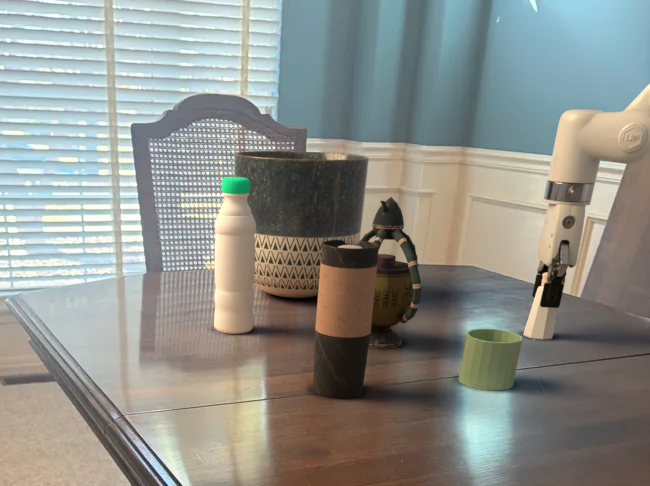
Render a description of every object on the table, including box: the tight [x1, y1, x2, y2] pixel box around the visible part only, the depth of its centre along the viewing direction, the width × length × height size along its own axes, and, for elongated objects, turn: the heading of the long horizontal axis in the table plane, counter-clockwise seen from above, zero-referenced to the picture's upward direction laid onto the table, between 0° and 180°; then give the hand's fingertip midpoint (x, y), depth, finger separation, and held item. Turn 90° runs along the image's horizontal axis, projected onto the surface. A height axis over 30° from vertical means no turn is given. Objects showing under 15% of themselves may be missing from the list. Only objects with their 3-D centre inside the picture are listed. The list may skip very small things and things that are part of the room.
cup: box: [458, 328, 524, 391], centre depth 115 cm, size 8×8×7 cm
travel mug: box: [312, 240, 380, 399], centre depth 106 cm, size 8×8×20 cm
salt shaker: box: [523, 272, 557, 341], centre depth 138 cm, size 5×5×11 cm
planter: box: [233, 150, 369, 299], centre depth 159 cm, size 27×27×27 cm
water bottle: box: [213, 176, 256, 335], centre depth 133 cm, size 7×7×25 cm
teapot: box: [357, 196, 422, 349], centre depth 132 cm, size 12×25×23 cm, turn 179°
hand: (545, 301), depth 138 cm, fingers open, 6 cm apart
